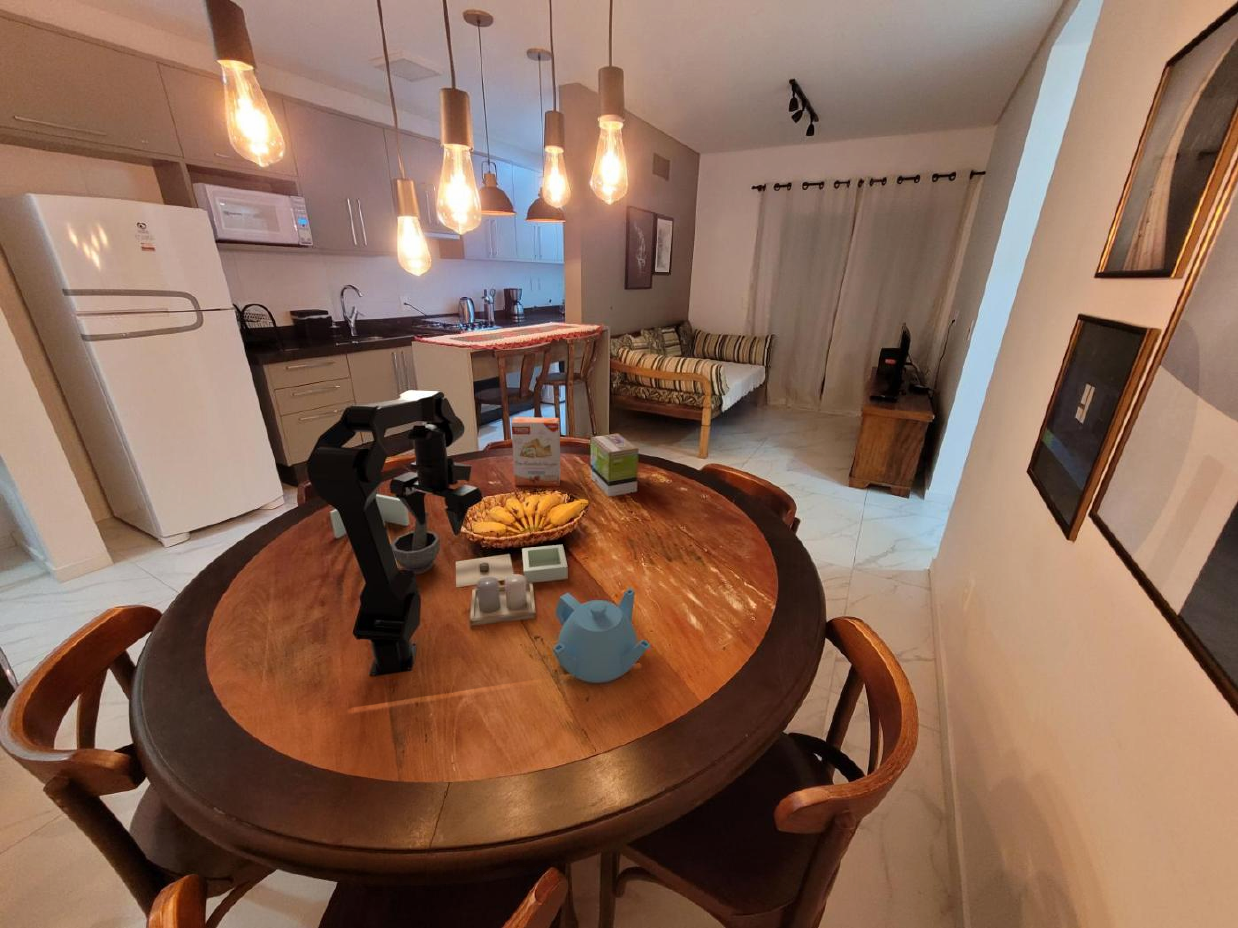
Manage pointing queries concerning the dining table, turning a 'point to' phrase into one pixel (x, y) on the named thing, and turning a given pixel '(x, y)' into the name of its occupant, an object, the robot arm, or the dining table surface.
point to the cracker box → (536, 451)
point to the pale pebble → (515, 591)
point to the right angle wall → (388, 509)
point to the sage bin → (544, 563)
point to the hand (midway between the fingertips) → (439, 529)
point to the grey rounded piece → (488, 594)
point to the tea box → (614, 464)
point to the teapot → (597, 638)
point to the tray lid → (483, 569)
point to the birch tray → (502, 609)
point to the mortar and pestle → (417, 548)
